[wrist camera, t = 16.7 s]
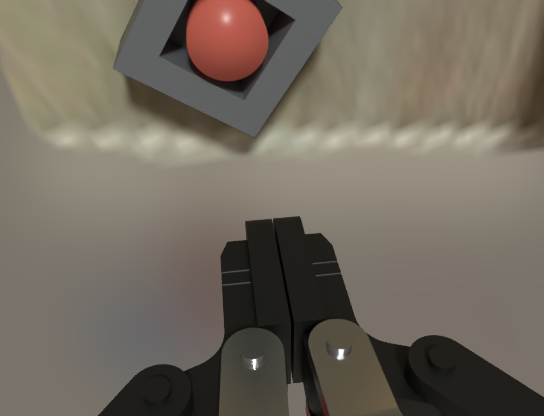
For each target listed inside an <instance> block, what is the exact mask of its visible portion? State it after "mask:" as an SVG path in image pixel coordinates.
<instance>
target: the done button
mask: <svg viewBox="0 0 544 416" xmlns="http://www.w3.org/2000/svg"><path fill="white" fill-rule="evenodd" d="M186 39H187V49H188V53H189V56H190V58H191V60H192V62H193V63H194V64H195V66H196V67H197V68H198V69H199V70H200V71H201V72H202V73H204V74H205V75H207V76H208V77H211V78H213V79H216V80H220V81H235V80H239V79H242V78H245V77H247V76H249V75H250V74H252V73H253V72H254V71H255V70H256V69H257V68H258V67H259V66H260V65H261V63H262V62H263V60H264V58H265V56H266V53H267V49H268V32H267V29H266V26H265V23H264V21H263V18H262V15H261V13H260V10H259V8H258V5H257V3H256V2H255V0H192V1H191V3H190V5H189V7H188V10H187V15H186Z"/></svg>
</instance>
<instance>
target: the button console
mask: <svg viewBox="0 0 544 416" xmlns="http://www.w3.org/2000/svg"><path fill="white" fill-rule="evenodd" d="M191 1H192V0H139V1H138V3H137V5H136V8H135V10H134V12H133V14H132V16H131V18H130V21H129V23H128V25H127V27H126V29H125V31H124V34H123V36H122V38H121V40H120V44H119V48H118V51H117V55H116V59H115V63H114V66H113V69H114V70H116V71H118V72H121V73H123V74H125V75H127V76H129V77H131V78H133V79H135V80H137V81H139V82H141V83H143V84H145V85H147V86H149V87H151V88H153V89H156V90H158V91H160V92H162V93H164V94H166V95H168V96H170V97H172V98H174V99H176V100H178V101H180V102H182V103H184V104H186V105H189V106H191V107H193V108H195V109H197V110H199V111H201V112H203V113H205V114H207V115H209V116H211V117H213V118H215V119H217V120H219V121H221V122H224V123H226V124H228V125H230V126H232V127H234V128H236V129H238V130H240V131H242V132H244V133H246V134H248V135H250V136H252V137H254V138H255V136H256V135H257V133H258V132H259V130H260V129H261V127H262V126H263V124H264V123H265V121H266V120H267V118H268V117H269V115H270V114H271V112H272V111H273V109H274V108H275V107H276V105H277V104H278V102H279V101H280V99H281V98H282V96H283V95H284V93H285V92H286V90H287V89H288V87H289V86H290V84H291V83H292V81H293V80H294V78H295V77H296V76H297V74H298V73H299V71H300V70H301V68H302V67H303V65H304V64H305V62H306V61H307V59H308V58H309V56H310V55H311V53H312V52H313V50H314V49H315V47H316V46H317V45H318V43H319V42H320V40H321V39H322V37H323V36H324V34H325V33H326V31H327V30H328V28H329V27H330V25H331V24H332V22H333V21H334V19H335V18H336V16H337V15H338V14H339V12H340V11H341V9H342V8H343V7H342V6H341V5H340V3H339V2H338V1H337V0H255V2H256V3H257V5H258V8H259V10H260V13H261V15H262V18H263V21H264V23H265V26H266V29H267V32H268V49H267V53H266V56H265V58H264V60H263V62H262V63H261V65H260V66H259V67H258V68H257V69H256V70H255V71H254V72H253V73H252V74H250V75H249V76H247V77H245V78H242V79H239V80H235V81H220V80H216V79H213V78H211V77H208V76H207V75H205V74H204V73H202V72H201V71H200V70H199V69H198V68H197V67H196V66H195V64H194V63H193V62H192V60H191V58H190V56H189V53H188V49H187V39H186V15H187V10H188V7H189V5H190V3H191Z"/></svg>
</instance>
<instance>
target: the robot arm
mask: <svg viewBox="0 0 544 416" xmlns="http://www.w3.org/2000/svg"><path fill="white" fill-rule="evenodd" d="M245 226H246V227H245V228H246V240H243V241H232V242H227V244H226V246H225V248H224V250H223V252H222V254H221V273H222V291H223V292H222V293H223V311H224V328H225V329H224V330H225V335H224V340H223V343H222V346H221V347H220V349H219V350H218V351H217V353H216V354H215V355H214V356H213V357H211V358H210V359H209V360H207V361H206V362H204V363H202V364H200V365H198V366H195V367H193V368H191V369H188V370H186V371H182V370H181V369H180V368H178V367H175V366H172V365H166V364H162V365H161V364H160V365H154V366H151V367H148V368H146V369H144V370H142V371H141V372H139V373H138V374H137V375H135V376H134V377H133V378H132V380H131V381H130V382H129V383H128V384H127V385H126V386H125V387H124V388H123V389H122V390H121V391H120V392H119V393H118V395H117V396H116V397H115V398H114V399H113V400H112V401H111V402H110V403H109V404H108V405H107V407H106V408H105V409H104V410H103V411H102V412H101V413H100V414H99V415H98V416H289V409H288V396H287V384H290V383H291V373H292V378H293V383H299V382H303V384H304V390H305V395H306V415H307V416H544V397H543V396H541V395H539V394H538V393H536V392H535V391H533V390H531V389H530V388H528V387H527V386H525V385H524V384H522V383H521V382H519V381H517V380H516V379H514V378H513V377H511V376H510V375H508V374H506V373H505V372H503V371H502V370H500V369H499V368H497V367H495V366H494V365H492V364H491V363H489V362H487V361H486V360H484V359H483V358H481V357H479V356H478V355H476V354H475V353H473V352H472V351H470V350H469V349H467V348H465V347H464V346H462V345H461V344H459V343H458V342H456V341H454V340H452V339H449V338H447V337H443V336H438V335H430V336H424V337H422V338H419V339H418V340H416V341H415V342H414V343H413V344H412V346H411V347H408V346H402V345H397V344H391V343H387V342H383V341H380V340H377V339H375V338H373V337H371V336H370V335H369V334H367V333H366V332H365V331H364V330H363V329H362V328H361V327H360V326H359V324H358V323H357V321H356V318H355V316H354V312H353V309H352V306H351V303H350V300H349V297H348V293H347V290H346V287H345V284H344V281H343V278H342V275H341V271H340V268H339V265H338V263H337V259H336V256H335V252H334V249H333V246H332V244H331V243H330V242H329V241H328V240H327V239H326V238H325V237H324V236H323V235H322V234H321V233H317V234H305V233H304V229H303V225H302V221H301V218H300V217H299V216H298V217H297V216H296V217H286V218H274V219H273V223H272V219H266V220H265V219H264V220H253V221H245Z"/></svg>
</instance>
